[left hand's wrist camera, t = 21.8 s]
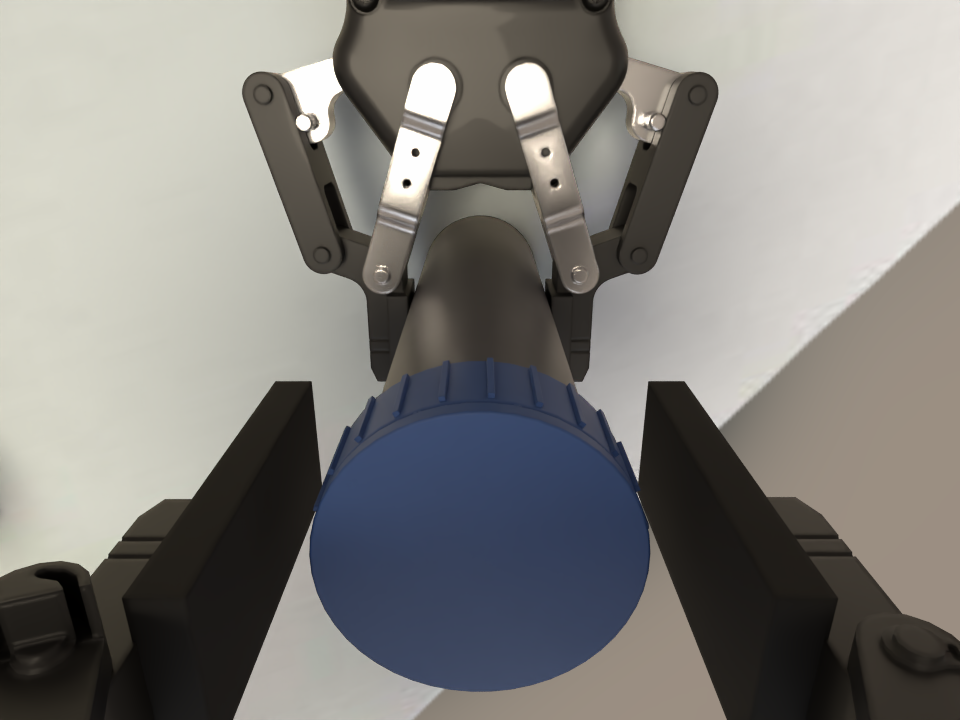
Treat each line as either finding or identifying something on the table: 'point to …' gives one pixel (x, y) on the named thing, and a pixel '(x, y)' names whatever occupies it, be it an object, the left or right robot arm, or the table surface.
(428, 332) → the jar
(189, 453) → the table surface
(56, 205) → the table surface
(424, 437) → the lid
